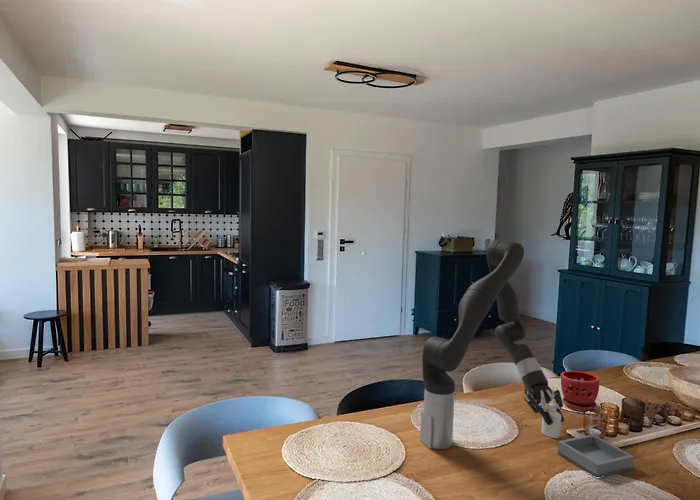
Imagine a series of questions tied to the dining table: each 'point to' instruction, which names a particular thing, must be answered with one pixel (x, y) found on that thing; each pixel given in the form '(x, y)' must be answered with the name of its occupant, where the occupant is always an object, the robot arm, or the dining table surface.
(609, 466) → the tray
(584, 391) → the plant pot
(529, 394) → the robot arm
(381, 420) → the dining table surface
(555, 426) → the eye dropper bottle
